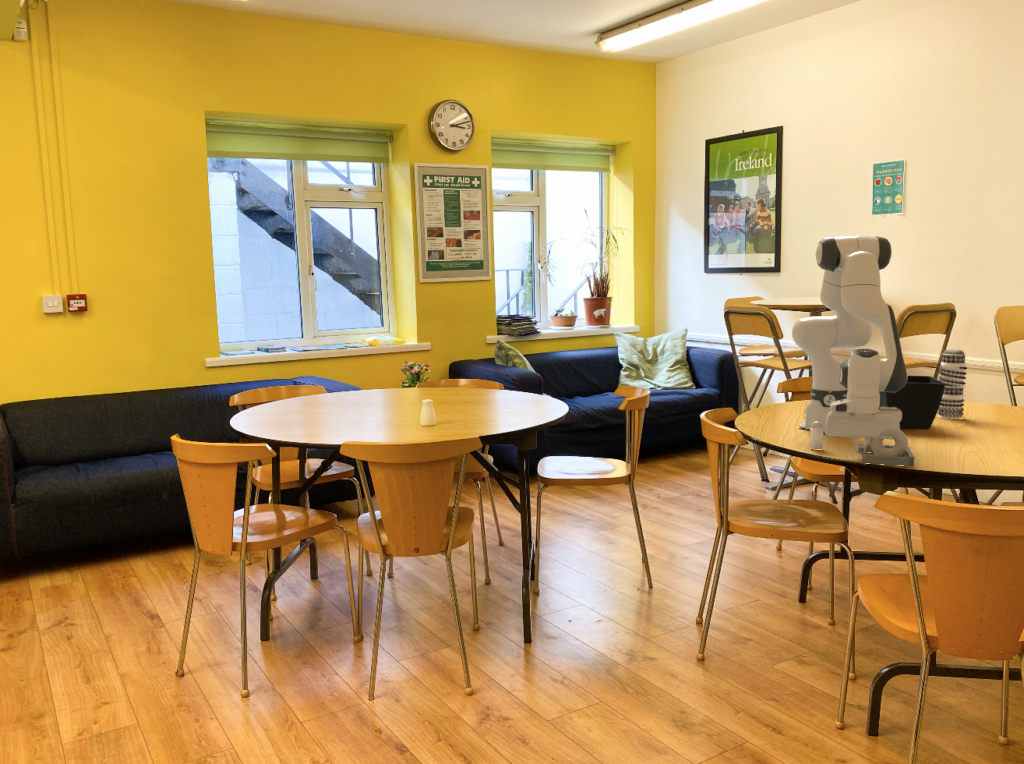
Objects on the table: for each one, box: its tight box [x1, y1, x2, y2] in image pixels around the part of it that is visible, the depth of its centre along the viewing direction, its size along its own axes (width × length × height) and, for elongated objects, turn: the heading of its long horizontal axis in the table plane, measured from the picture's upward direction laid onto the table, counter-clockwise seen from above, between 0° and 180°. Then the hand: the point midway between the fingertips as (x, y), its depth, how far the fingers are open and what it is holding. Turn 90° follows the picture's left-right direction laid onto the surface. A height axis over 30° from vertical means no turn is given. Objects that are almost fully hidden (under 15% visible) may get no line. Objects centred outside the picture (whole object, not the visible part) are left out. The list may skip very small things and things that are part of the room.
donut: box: [869, 429, 909, 457], centre depth 239 cm, size 10×4×10 cm, turn 61°
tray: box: [858, 443, 915, 466], centre depth 240 cm, size 17×13×3 cm
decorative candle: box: [937, 349, 968, 420], centre depth 306 cm, size 9×9×25 cm
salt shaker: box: [809, 421, 824, 450], centre depth 255 cm, size 4×4×9 cm
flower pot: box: [879, 375, 945, 430], centre depth 291 cm, size 19×19×17 cm
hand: (860, 452), depth 243 cm, fingers closed
